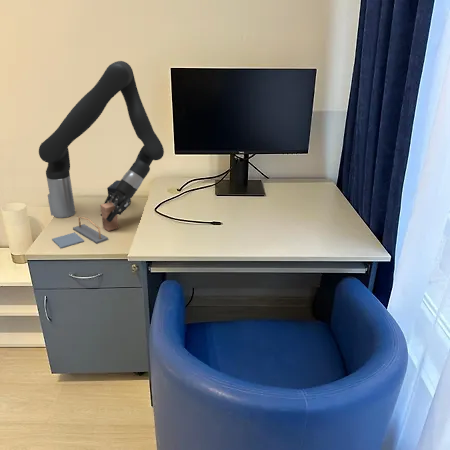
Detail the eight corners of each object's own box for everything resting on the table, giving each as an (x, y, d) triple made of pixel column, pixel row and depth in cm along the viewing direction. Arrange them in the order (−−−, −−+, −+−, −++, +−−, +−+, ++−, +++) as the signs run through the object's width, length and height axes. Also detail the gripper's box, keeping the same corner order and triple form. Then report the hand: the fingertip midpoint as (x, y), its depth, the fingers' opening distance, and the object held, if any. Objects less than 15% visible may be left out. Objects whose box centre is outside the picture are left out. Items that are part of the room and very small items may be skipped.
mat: (60, 248, 159) (60, 247, 158) (52, 239, 165) (51, 238, 165) (84, 241, 164) (84, 240, 164) (74, 233, 170) (74, 232, 170)
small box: (118, 200, 202) (115, 179, 198) (131, 201, 201) (129, 180, 197) (108, 209, 193) (106, 187, 188) (122, 210, 192) (120, 188, 187)
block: (108, 231, 172) (105, 208, 167) (103, 227, 175) (100, 204, 171) (118, 228, 174) (116, 205, 170) (113, 224, 177) (110, 202, 173)
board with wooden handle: (96, 244, 162) (94, 227, 159) (73, 230, 174) (70, 213, 170) (108, 240, 166) (106, 223, 163) (84, 226, 177) (82, 210, 174)
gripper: (114, 174, 176) (90, 208, 174) (132, 183, 166) (106, 220, 164) (127, 184, 181) (104, 217, 179) (145, 193, 171) (120, 229, 169)
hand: (105, 218), depth 171 cm, fingers closed on block, 4 cm apart
